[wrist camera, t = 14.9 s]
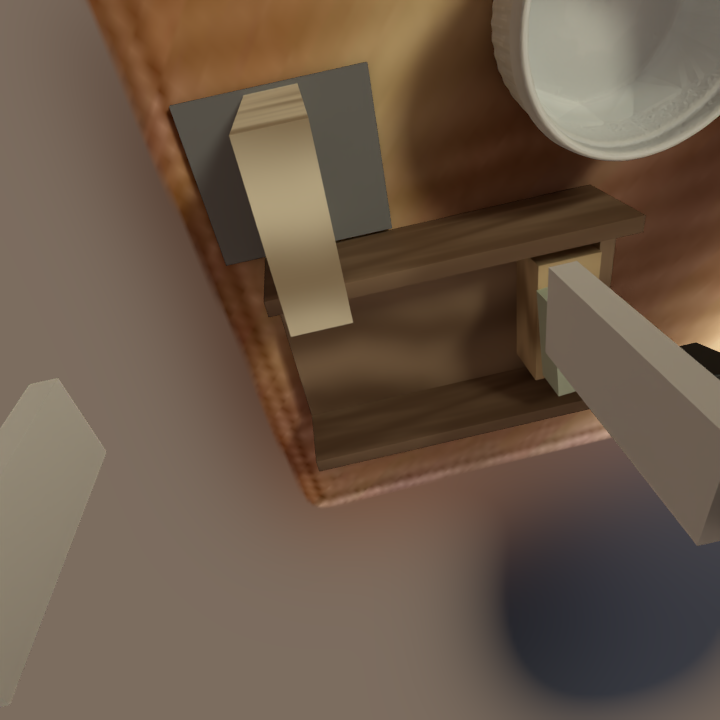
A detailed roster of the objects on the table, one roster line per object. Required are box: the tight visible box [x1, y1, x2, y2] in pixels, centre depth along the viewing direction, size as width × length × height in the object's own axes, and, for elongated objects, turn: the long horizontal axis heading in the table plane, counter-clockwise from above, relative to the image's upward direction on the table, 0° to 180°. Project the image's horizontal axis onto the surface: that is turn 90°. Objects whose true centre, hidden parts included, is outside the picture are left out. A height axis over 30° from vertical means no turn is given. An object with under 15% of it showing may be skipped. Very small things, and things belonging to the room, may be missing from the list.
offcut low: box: [517, 244, 602, 380], centre depth 36 cm, size 9×4×4 cm, turn 10°
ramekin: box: [491, 0, 720, 161], centre depth 25 cm, size 13×13×7 cm
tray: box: [264, 185, 646, 471], centre depth 35 cm, size 14×22×6 cm, turn 100°
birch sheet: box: [229, 83, 353, 337], centre depth 26 cm, size 9×3×11 cm, turn 10°
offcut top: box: [536, 287, 575, 396], centre depth 33 cm, size 7×4×2 cm, turn 15°
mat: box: [169, 62, 392, 266], centre depth 31 cm, size 10×11×1 cm
